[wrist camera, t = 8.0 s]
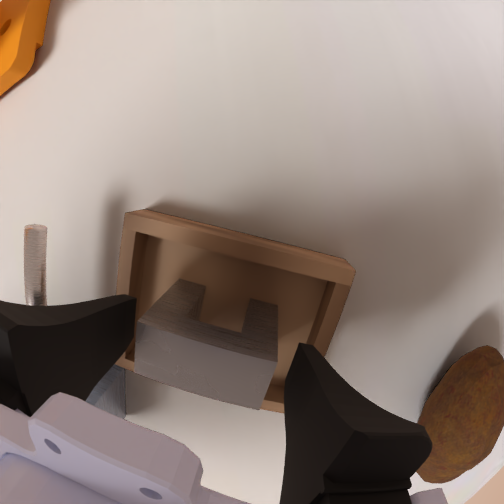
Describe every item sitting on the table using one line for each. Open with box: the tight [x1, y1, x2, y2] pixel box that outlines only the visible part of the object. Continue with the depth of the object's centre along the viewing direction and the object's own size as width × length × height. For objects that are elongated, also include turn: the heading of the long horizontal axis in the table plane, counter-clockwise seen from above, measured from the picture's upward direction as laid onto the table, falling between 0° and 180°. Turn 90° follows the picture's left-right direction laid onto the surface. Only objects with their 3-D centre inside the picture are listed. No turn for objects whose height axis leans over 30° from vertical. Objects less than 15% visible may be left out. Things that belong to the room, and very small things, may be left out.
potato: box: [416, 345, 504, 483], centre depth 12 cm, size 7×12×7 cm, turn 12°
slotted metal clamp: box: [134, 278, 278, 410], centre depth 12 cm, size 5×2×5 cm, turn 76°
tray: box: [115, 209, 356, 413], centre depth 14 cm, size 10×8×2 cm
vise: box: [24, 224, 126, 419], centre depth 13 cm, size 7×15×6 cm, turn 167°
